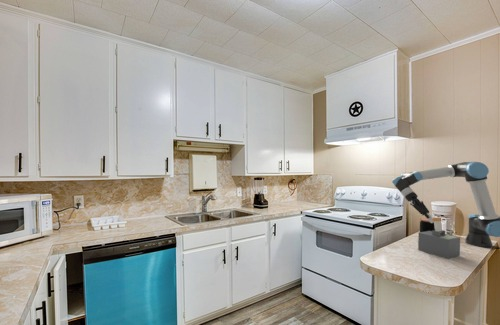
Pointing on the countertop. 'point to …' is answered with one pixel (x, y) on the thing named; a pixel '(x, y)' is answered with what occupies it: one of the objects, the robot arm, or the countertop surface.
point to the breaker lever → (437, 225)
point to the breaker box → (439, 244)
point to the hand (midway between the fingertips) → (433, 222)
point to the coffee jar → (426, 225)
